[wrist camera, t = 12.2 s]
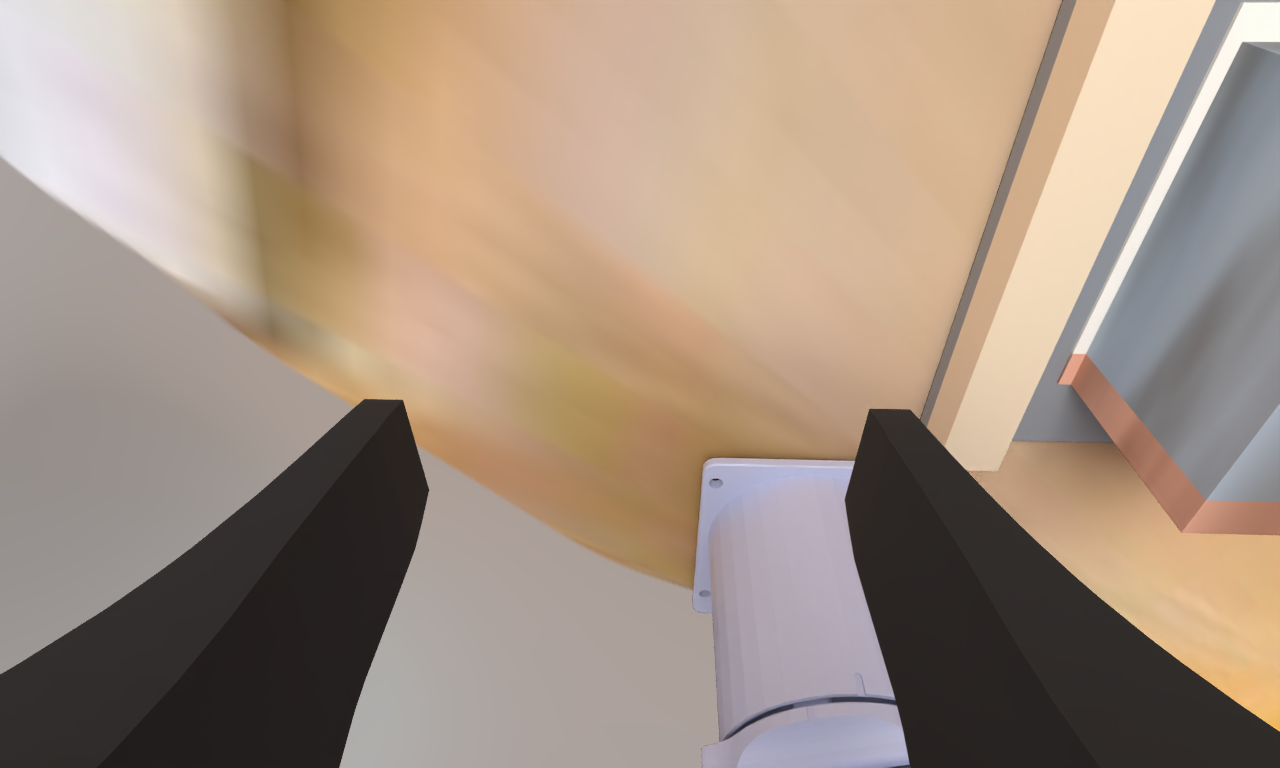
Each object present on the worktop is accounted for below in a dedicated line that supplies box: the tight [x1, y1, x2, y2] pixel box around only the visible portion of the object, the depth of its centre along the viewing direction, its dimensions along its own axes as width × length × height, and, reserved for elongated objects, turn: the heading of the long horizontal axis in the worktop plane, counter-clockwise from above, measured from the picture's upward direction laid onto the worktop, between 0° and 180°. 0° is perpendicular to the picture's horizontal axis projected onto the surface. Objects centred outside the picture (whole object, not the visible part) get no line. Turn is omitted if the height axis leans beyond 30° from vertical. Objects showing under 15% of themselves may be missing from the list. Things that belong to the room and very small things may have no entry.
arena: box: [920, 0, 1280, 471], centre depth 18 cm, size 17×13×2 cm
